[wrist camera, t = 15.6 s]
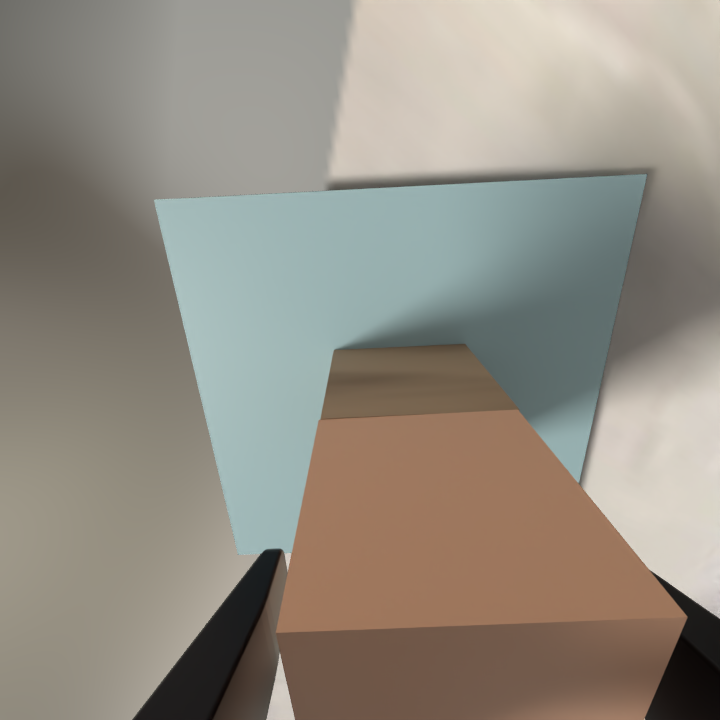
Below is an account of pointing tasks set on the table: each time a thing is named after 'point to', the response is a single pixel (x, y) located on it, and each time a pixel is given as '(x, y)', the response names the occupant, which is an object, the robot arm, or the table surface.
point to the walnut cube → (410, 383)
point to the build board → (390, 310)
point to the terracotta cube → (463, 581)
